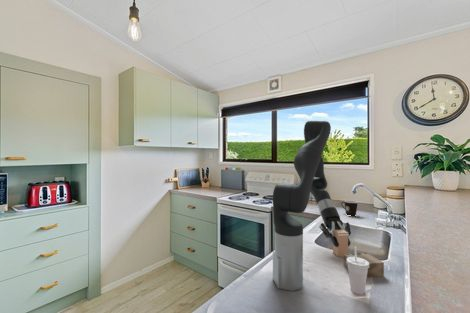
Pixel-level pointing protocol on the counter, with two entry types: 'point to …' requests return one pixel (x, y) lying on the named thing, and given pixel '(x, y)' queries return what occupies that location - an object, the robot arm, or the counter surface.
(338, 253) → the tan rectangular box
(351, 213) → the coffee mug
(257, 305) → the counter surface
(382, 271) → the brown rectangular box
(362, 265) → the smoothie
